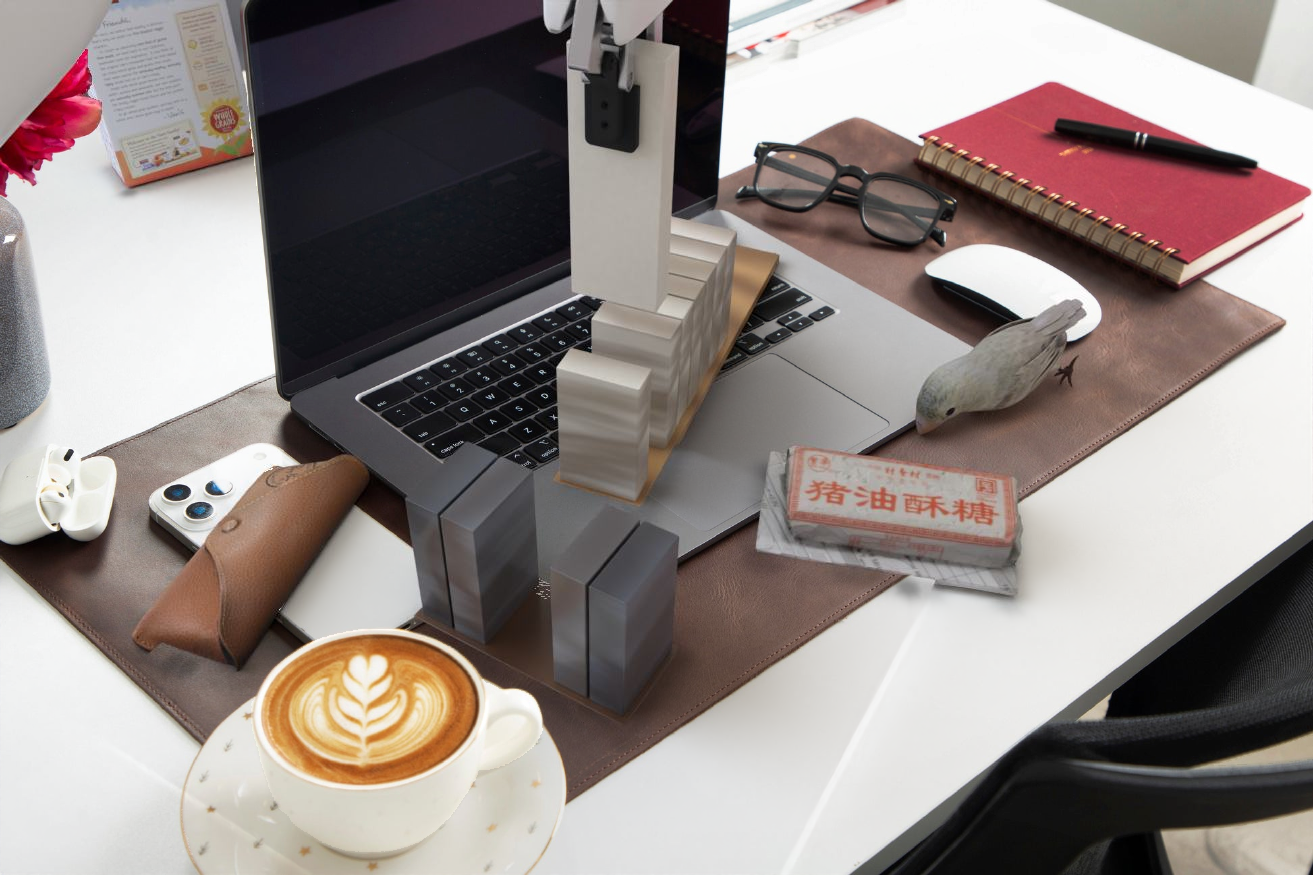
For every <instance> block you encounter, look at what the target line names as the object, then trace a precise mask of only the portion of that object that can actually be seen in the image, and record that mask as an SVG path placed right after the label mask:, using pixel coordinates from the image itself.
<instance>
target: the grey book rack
mask: <svg viewBox="0 0 1313 875" xmlns="http://www.w3.org/2000/svg"><path fill="white" fill-rule="evenodd" d="M404 501H405V502H404V503H405V507H406V508H405V510H406V514H407V520H408V527H409V532H410V539H411V545H412V552H413V558H414V564H415V569H416V577H417V582H418V590H419V595H420V601H421V607H420V609H419V610H417V612H416V613H415V614H414V615H413V617H414V618H416V619H417V620H420V621H422V622H423V623H425V624H427V625H429V626H430V627H433V628H435V629H437V630H439V631H441V632H443V633H444V634H447V635H448V636H450V637H452V638H454V639H455V640H458V641H460V642H461V643H463V644H465V645H466V646H467V645H468V646H469V647H471V648H473V649H474V650H477V651H479V652H481V653H483V654H484V655H486V656H488V657H490V658H492V659H494V660H496V661H497V662H500V663H502V664H503V665H505V666H507V667H510V668H511V669H513V670H515V671H517V672H519V673H521V674H522V675H524V676H526V677H528V678H530V679H532V680H534V681H535V682H538V683H540V684H542V685H544V686H546V687H547V688H549V689H551V690H553V691H555V692H557V693H559V694H561V695H562V696H565V697H566V698H568V699H570V700H572V701H573V702H575V703H578V704H579V705H582V706H584V707H586V708H587V709H590V710H591V711H593V712H595V713H596V714H598V715H601V716H603V717H605V718H607V719H608V720H610V721H613V722H614V723H616V724H618V725H620V726H622V727H625V726H626V725H627V724H628V722H629V721H630V720H631V718H632V717H633V716H634V714H635V713H636V712H637V710H638V708H639V707H640V706H641V704H642V703H643V701H644V700H645V699H646V697H647V696H648V695H649V693H650V692H651V690H652V688H653V687H654V686H655V684H656V683H657V681H658V680H659V679H660V678H661V677H662V675H663V673H664V672H665V670H666V669H667V667H668V666H669V665H670V663H671V662H672V660H673V659H674V658H675V656H676V655H677V654H678V652H679V651H680V649H681V648H682V646H681V645H679V644H677V643H674V642H673V635H674V634H673V633H674V622H675V621H674V620H675V604H676V591H677V590H676V589H677V576H678V563H679V562H678V560H679V547H680V535H678V534H675V533H674V532H671V531H669V530H667V529H664V528H662V527H660V526H658V525H656V524H653V523H651V522H649V521H647V520H643V521H642V522H641V518H640V517H638V516H636V515H633V514H631V513H629V512H626V511H624V510H622V509H620V508H618V507H615V506H614V505H610V504H608V503H605V504H604V505H603V507H602V508H601V509H600V510H599V511H598V512H597V513H596V515H595V516H594V517H592V519H591V520H590V521H589V522H588V524H587V525H586V526H585V527H584V528H583V529H582V530H581V532H580V533H579V534H578V535H577V536H576V537H575V538H574V540H572V541H571V543H570V544H569V545H568V546H567V547H566V548H565V550H564V551H563V552H562V553H561V554H560V555H559V557H557V558H556V559H555V561H554V562H553V563H552V565H550V566H549V568H548V569H549V581H547V583H548V582H549V583H550V584H546V583H539V582H543V581H541V580H542V579H543V578H541V579H540V580H539V578H540V576H539V573H540V572H539V558H538V539H537V536H538V535H537V520H536V518H537V517H536V499H535V482H534V470H532V469H530V468H529V467H526V466H524V465H523V464H522V465H521V464H519V463H517V462H515V461H513V460H510V459H508V458H505V457H504V456H500V457H499V455H498V454H497V453H495V452H492V451H490V450H488V449H487V448H483V447H482V446H479V445H476V444H475V443H472V442H471V441H465V443H463V444H462V445H461V446H460V447H459V448H458V449H457V450H456V451H455V452H454V453H452V454H451V456H449V457H448V458H447V459H446V460H445V461H444V462H443V463H442V464H440V465H439V467H437V468H436V469H435V470H434V471H433V472H432V473H431V474H430V475H429V476H427V477H426V478H425V480H424V481H422V482H421V483H420V484H419V485H418V486H417V487H416V488H415V489H413V491H411V493H409V494H408V495H407V496H406V497H405V498H404ZM539 584H543V585H550V586H541V585H539ZM537 586H539V587H537ZM535 588H536V589H535ZM546 589H548V590H550V591H548V590H546ZM540 591H544V592H543V593H542V592H540ZM536 593H541V594H542V595H538V594H536ZM546 594H548V595H546ZM541 596H545V597H541ZM548 596H550V597H548ZM544 598H547V599H544Z"/></svg>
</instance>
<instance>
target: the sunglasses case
mask: <svg viewBox="0 0 1313 875" xmlns="http://www.w3.org/2000/svg"><path fill="white" fill-rule="evenodd" d="M271 468H273V469H272V470H268V469H267V470H268V471H266V470H265V471H266V472H265V471H263V473H262V474H261V475H259V477H258V478H257V479H256V480H255V481H254V482H253V483H252V485H250V487H249V488H247V489H246V491H245V492H244V494H243V495H242V496H241V497H240V498H239V500H238V501H237V502H236V503H235V504H234V505H233V506H232V508H231V509H230V511H229V512H228V513H227V514H226V515H225V516H223V518H222V519H221V520H219V522H218V523H217V524H216V526H214V527H213V529H212V530H211V531H210V532H209V533H208V535H207V536H206V538H205V541H204V543H203V544H202V545H201V546H200V548H198V550H197V551H196V552H195V553H194V555H193V556H192V557H191V558H190V559H189V560H188V561H187V563H186V564H185V565H184V566H183V568H182V569H181V570H180V571H179V572H178V574H177V575H176V576H175V577H174V578H173V579H172V581H171V582H170V583H169V585H168V586H167V587H166V588H165V589H164V590H163V592H162V593H161V594H160V595H159V597H158V598H157V599H156V600H155V602H153V604H152V605H151V606H150V608H149V609H147V611H146V612H145V614H144V615H143V617H141V619H140V621H139V622H138V623H137V625H136V627H135V628H134V630H133V632H132V633H131V635H130V637H131V639H132V642H134V644H135V645H137V647H139V648H141V649H143V650H146V651H148V652H150V653H151V652H152V651H154V650H155V649H156V648H157V647H158V646H159V645H160V644H161V643H162V644H164V645H168V646H170V647H173V648H175V649H178V650H181V651H184V652H188V653H189V654H192V655H196V656H198V657H202V658H204V659H208V660H212V661H214V662H218V663H220V664H222V665H223V664H224V665H228V666H233V667H235V668H236V669H235V671H236V672H239V671H240V670H241V669H242V667H243V666H244V665H245V663H246V662H247V661H248V659H249V658H250V657H251V656H252V654H253V653H254V652H255V649H256V648H257V647H258V645H259V644H260V642H262V639H264V636H265V635H266V633H267V631H268V630H269V628H270V627H271V626H272V624H273V622H274V620H275V619H276V617H277V616H278V615H279V613H278V611H279V609H280V608H281V607H282V606H283V604H284V603H285V602H286V603H287V601H288V600H289V599H290V596H291V595H292V593H293V592H294V590H295V588H296V587H297V586H298V584H299V583H300V582H301V580H302V579H303V578H304V576H305V574H306V573H307V572H308V570H309V569H310V568H311V566H312V565H313V563H314V562H315V560H316V558H317V557H318V555H319V554H320V553H321V551H322V550H323V548H324V546H325V545H326V544H327V542H328V541H329V539H330V538H331V537H332V535H334V533H335V531H336V530H337V529H338V527H339V526H340V524H341V523H342V521H343V520H344V518H345V517H346V516H347V514H348V513H349V511H350V510H351V509H352V507H353V506H354V505H355V503H357V501H358V500H359V498H360V496H361V495H362V493H363V492H364V491H365V489H366V488H367V486H368V484H369V482H370V479H371V478H370V472H369V470H368V467H367V466H366V464H365V463H364V462H363V461H362V460H361V459H360V458H358V457H356V456H355V455H351V454H347V453H344V454H343V453H342V454H340V455H336V456H335V457H332V458H330V459H329V460H324V461H315V462H309V463H301V464H295V465H288V466H281V465H272V466H271V467H270V468H269V469H271ZM286 600H287V601H286ZM286 603H285V604H286ZM285 604H284V605H285ZM283 607H284V606H283ZM283 607H282V608H283ZM279 612H280V611H279Z"/></svg>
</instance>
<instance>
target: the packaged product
mask: <svg viewBox="0 0 1313 875" xmlns="http://www.w3.org/2000/svg"><path fill="white" fill-rule="evenodd" d="M764 480H765V481H764V489H763V493H762V499H761V503H760V511H759V520H758V525H757V533H756V539H755V540H756V541H755V553H756V552H757V553H763V554H768V555H774V556H779V557H785V558H789V559H796V560H803V561H810V562H816V563H822V564H832V565H836V566H844V567H851V568H858V569H865V570H872V571H878V572H883V573H887V574H895V575H903V576H913V577H915V578H923V579H931V580H935V581H934V582H933V585H941V586H949V587H950V586H951V587H958V588H966V589H971V590H978V591H983V592H990V593H995V594H1001V595H1007V596H1012V597H1013V596H1015V595H1016V594H1017V593H1018V584H1017V582H1018V581H1017V580H1018V579H1017V567H1016V566H1017V564H1016V563H1017V561H1018V559H1019V558H1020V556H1021V554H1022V542H1021V539H1022V534H1023V531H1024V527H1023V523H1022V517H1021V514H1020V513H1019V506H1018V503H1019V496H1020V495H1019V492H1018V488H1019V480H1018V478H1017V477H1015V476H1007V475H1003V474H997V473H989V472H985V471H979V470H978V471H976V470H972V469H964V468H957V467H956V468H955V467H950V466H942V465H936V464H930V463H923V462H918V461H910V460H909V461H908V460H901V459H898V458H897V459H896V458H886V457H880V456H873V455H861V454H857V453H850V452H843V451H838V450H829V449H828V450H826V449H823V448H818V447H809V446H805V445H801V446H800V445H793V446H789V447H787V451H786V453H785V452H780V451H776V450H772V451H770V452H769V457H768V461H767V465H766V470H765V479H764Z"/></svg>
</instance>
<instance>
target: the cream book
mask: <svg viewBox="0 0 1313 875" xmlns="http://www.w3.org/2000/svg"><path fill="white" fill-rule="evenodd" d="M569 46H570V39H568V40H567V41H566V73H567V76H566V77H567V80H566V82H567V120H568V121H567V122H568V124H567V125H568V126H567V128H568V132H567V133H568V172H569V173H568V174H569V175H568V176H569V217H570V218H569V222H570V223H569V224H570V226H569V227H570V268H571V269H570V270H571V271H570V272H571V274H570V275H571V292H572V293H573V294H579V295H581V296H585V297H590V298H594V299H598V300H602V301H605V302H606V301H610V302H614V303H618V304H622V305H626V306H630V307H634V308H638V309H642V310H646V311H650V312H654V313H656V312H657V311H658V309H659V308H660V306H661V305H662V303H663V302H664V300H665V298H666V297H667V295H668V277H669V256H670V235H671V216H672V211H673V193H674V192H673V188H674V171H675V151H676V150H675V148H676V147H675V146H676V127H677V106H678V85H679V83H678V82H679V81H678V80H679V64H680V63H679V62H680V46H679V45H673V44H670V43H669V44H668V43H664V42H662V43H659V42H653V41H648V40H643V39H637V38H636V43H635V74H634V85H639V86H640V120H639V146H638V148H637V149H636V150H635V152H633V153H627V152H622V151H617V150H613V149H608V148H603V147H599V146H594V145H590V144H588V143H587V142H586V140H585V101H584V83H583V82H582V80H581V71H577V70H572V69H569V68H568V63H567V62H568V53H569ZM600 46H601V50H605V51H610V52H614V54H615V55H616V57H617V58H619V47H616V46H611V45H605V44H600Z"/></svg>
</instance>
